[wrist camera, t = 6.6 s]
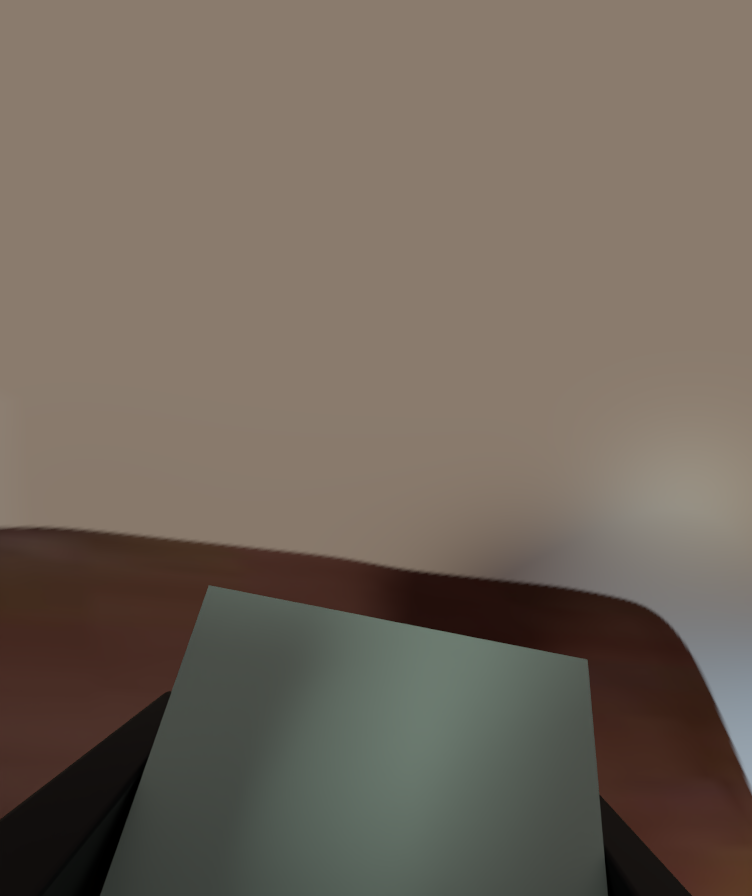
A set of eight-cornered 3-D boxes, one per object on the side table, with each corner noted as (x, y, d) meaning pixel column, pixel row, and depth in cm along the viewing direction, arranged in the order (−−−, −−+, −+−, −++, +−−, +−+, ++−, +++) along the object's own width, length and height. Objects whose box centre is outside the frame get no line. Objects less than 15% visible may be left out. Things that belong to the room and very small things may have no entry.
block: (431, 972, 11) (652, 1409, 4) (171, 931, 11) (-53, 1332, 4) (448, 682, 14) (587, 659, 7) (252, 645, 14) (208, 585, 7)
